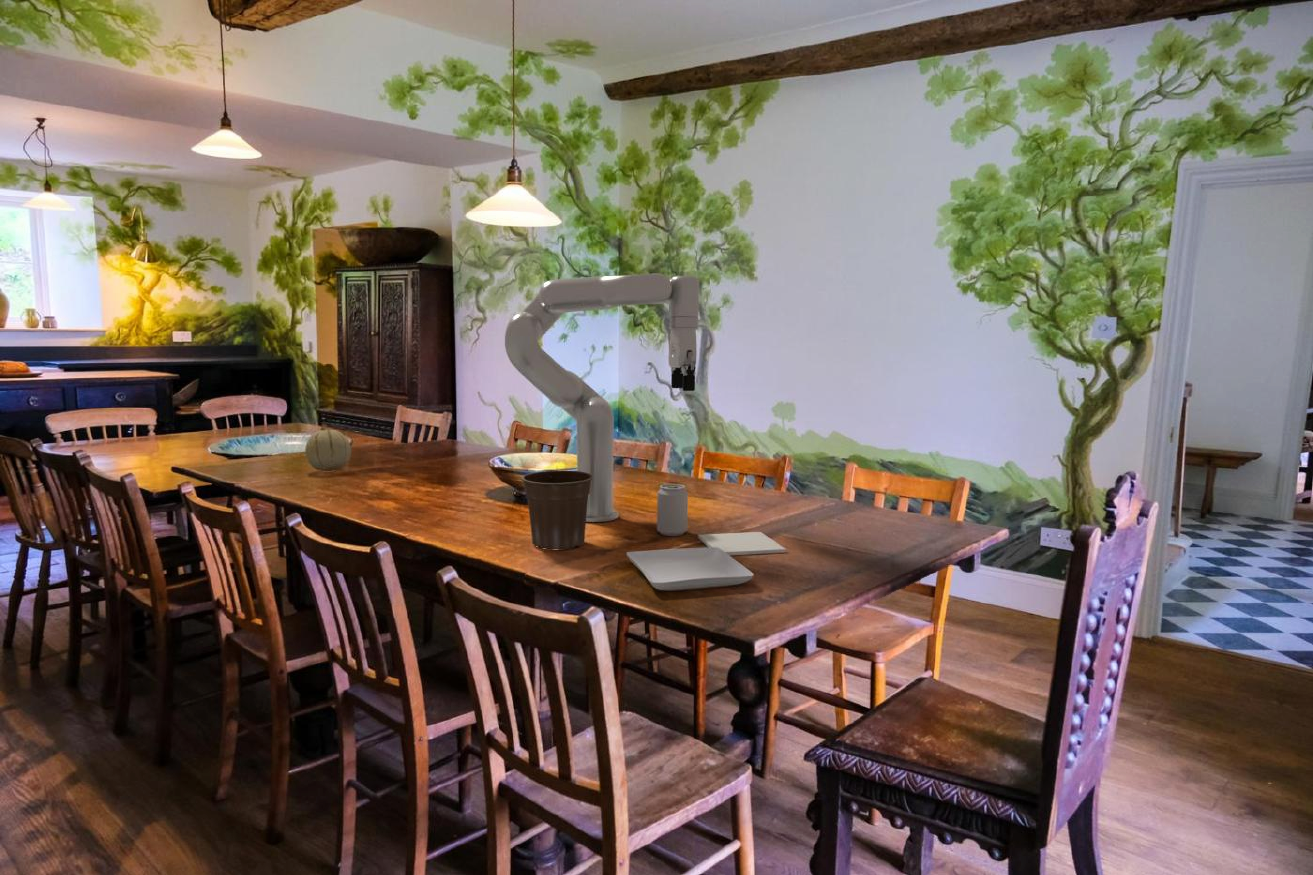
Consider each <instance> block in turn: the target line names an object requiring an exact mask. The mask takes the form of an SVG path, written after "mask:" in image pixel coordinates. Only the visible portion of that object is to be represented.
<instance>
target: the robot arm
mask: <svg viewBox="0 0 1313 875" xmlns="http://www.w3.org/2000/svg"><path fill="white" fill-rule="evenodd" d="M699 298H700V281H699V279H698V278H697V277H696V276H692V275H676V276H673V277H668V276H666V275H665V274H663V273H658V272H653V273H639V274H627V275H626V274H624V275H615V276H613V275H604V276H603V275H601V276H587V277H575V278H574V277H573V278H560V279H558V278H557V279H550V280H547V281H546V282H544V283H543V284H542V285H541V286H540V289H539V292H538V293H537V294H536V295H535V297H534V298H533V299H532V300H531V301H530V302H529V303H528V304H527V306H526V307H524V308H523V310H522V311H521V312H519V313H516V314H515V315H513V316H512V318H510V320H509V321H508V323H507V326H506V330H505V334H504V347H505V353H506V355H507V357H508V359H509V362H510V363H511V364H512V366H513V368H515V369H516V370H517V372H518V373H519V374H520V375H522V376H523V377H524V378H525V379H526V380H527V381H528V382H529V383H530V384H532V385H533V387H535V388H536V390H538V391H539V392H541V393H542V394H543V395H544V396H545V397H546V398H547V399H548V400H549V401H550V402H551V404H553V405H554V406H556V407H558V408H561V409H562V410H564V412H566V413H567V414H568V415H569V416H570V417H572V418H573V419H574V420H575V421H576V460H577V461H576V471H580V472H585V473H589V474H591V475H592V476H593V479H592V480H591V483H590V493H589V494H588V502H587V514H586V523H602V522H603V523H605V522H610V521H613V520H616V519H618V518H619V512H618V511H617V510H614V509H613V508H614V507H613V506H614V502H613V500H614V495H613V494H614V489H613V488H614V487H613V486H614V433H615V432H614V431H615V419H614V418H615V417H614V416H615V415H614V412H613V409H612V407H611V405H610V404H609V402H608V401H607V400H606V399H605V398H603V397H602V396H601V394H599V393H598V392H597V391H595V390H594V389H593V388H592V387H591V386H590V385H588V384H587V383H586V382H585V381H584V380H583V379H582V378H581V377H579V375H577V374H576V373H574V372H573V371H571V370H566V368H564V367H563V366H562V365H560V364H559V363H558V362H557V361H556V360H555V359H554V358H553V357H552V356H550V355H549V354H548V353H547V352H546V351H545V350H544V349H543V348H542V347H541V346H540V343H539V341H540V340H541V339H542V337H543V336H544V335H545V334H546V333H547V332H548V331H549V330H550V329H551V328H552V327H553V325H554V324H556V323H557V321H558V320H559V319H560V318H561V317H562V315H564V313H575V312H586V311H587V312H589V311H591V312H592V311H603V310H610V309H614V308H619V307H625V306H636V305H638V306H639V305H660V304H662V305H663V304H669V330H670V335H669V346H668V347H669V348H668V350H669V351H668V366H670V367H671V369H670V370H671V373H670V374H671V376H670V377H671V380H670V382H671V384H670V387H671V388H672V389H682V391H684V392H694V391H695V390H696V370H697V367H696V366H697V355H698V354H697V351H698V350H697V331H698V330H699V306H700V305H699V302H700V299H699Z"/></svg>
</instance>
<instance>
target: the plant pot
mask: <svg viewBox="0 0 1313 875" xmlns="http://www.w3.org/2000/svg"><path fill="white" fill-rule="evenodd" d="M592 479H593V476H592V475H591V474H589V473H585V472H580V471H577V470H568V469H566V470H561V469H560V470H544V471H536V472H535V471H534V472H530V473H526V474H523V475H522V476H521V481H522V482H523V485H524V486H523V487H524V492H525V496H526V500H527V506H528V516H529V523H530V524H529V525H530V533H531V542H532V545H533V544H534V545H535V546H538V548H541V547H542V548H546V549H565V550H570V548H572V549H575V547H578V546H579V547H581V546H583V545H584V544H585V538H586V537H585V536H586V525H587V524H586V523H587V522H586V514H587V502H588V494H589V493H590V483H591V480H592ZM534 545H533V546H534ZM535 546H534V547H535ZM539 546H540V547H539ZM542 548H541V549H542ZM546 549H545V550H546Z"/></svg>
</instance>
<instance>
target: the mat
mask: <svg viewBox="0 0 1313 875" xmlns="http://www.w3.org/2000/svg"><path fill="white" fill-rule="evenodd" d="M697 535H698V536H697V537H698V539H699V540H700V541H701V543H703V544H704V545H706V546H707V548H710V547H717V548H720V549H721V550H723V551H724V552H725V553H727V554H728V555H729V556H745V555H746V556H747V555H762V554H763V555H764V554H780V553H787V552H786V551H787V549H786V548H785V547H784V546H782V545H781V544H779V543H778V542H776V541H775V540H773V539H772V538H770V537H768V536H767V535H766V534H764V533H763V532H761V531H751V532H748V531H747V532H731V533H730V532H729V533H728V532H727V533H709V534H708V533H707V534H706V533H705V534H697Z"/></svg>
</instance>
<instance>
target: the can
mask: <svg viewBox="0 0 1313 875" xmlns="http://www.w3.org/2000/svg"><path fill="white" fill-rule="evenodd" d="M659 488H660V489H658V491H657V494H656V495H657V498H656V500H657V501H656V502H657V503H656V505H657V508H656V512H657V513H656V515H657V516H656V520H657V521H656V530H657V531H658V532H659V533H660V535H662V536H667V537H668V536H669V537H677V536H679V537H680V536H682V535H684V534H685V533H686V532H687V531H688V509H689V506H688V505H689V503H688V501H689V500H688V498H689V497H688V496H689V492H688V491H687V489H686V486H685V485H684V484H678V483H665V484H661V485H660V486H659Z"/></svg>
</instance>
